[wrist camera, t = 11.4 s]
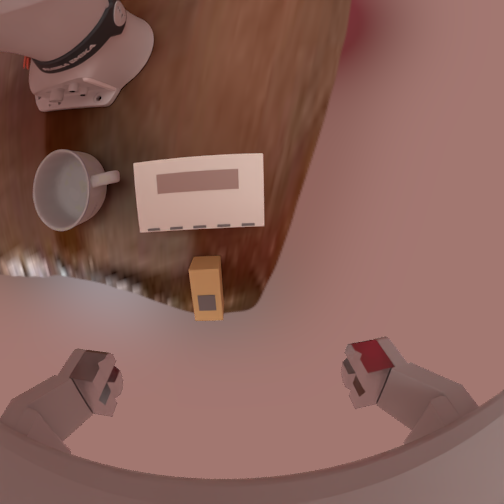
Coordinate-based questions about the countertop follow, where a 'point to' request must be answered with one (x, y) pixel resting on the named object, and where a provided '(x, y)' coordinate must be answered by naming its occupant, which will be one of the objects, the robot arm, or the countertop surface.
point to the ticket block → (200, 192)
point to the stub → (207, 288)
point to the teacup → (70, 188)
